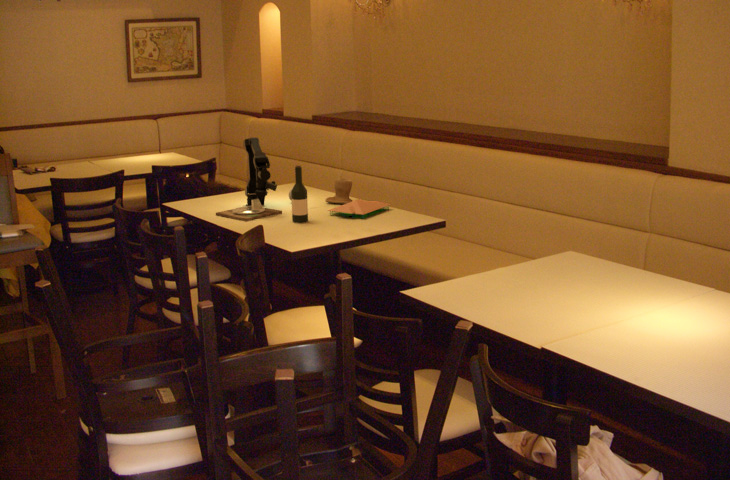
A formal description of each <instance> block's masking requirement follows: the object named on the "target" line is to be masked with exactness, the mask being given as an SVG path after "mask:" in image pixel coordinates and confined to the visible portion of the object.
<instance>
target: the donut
mask: <svg viewBox="0 0 730 480" xmlns="http://www.w3.org/2000/svg"><path fill="white" fill-rule="evenodd" d="M292 189H293V187H291V188H290V189H289V191H288V197H289V200H290V202H292V197H291V191H292Z"/></svg>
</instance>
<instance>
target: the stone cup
mask: <svg viewBox="0 0 730 480" xmlns="http://www.w3.org/2000/svg"><path fill="white" fill-rule="evenodd" d="M333 185H334V192H335V195H334V196H330V197H329V196H328V197H327V198H325V199H324V200H325V202H326V203H330V204H338V205H339V204H340V205H341V204H342V205H344V204H347V203H349V202H352V201H353V199H351V198H350V193H351V191H352V186H353V182H352V179H348V178H347V179H346V178H337V177H336V178H335V180H334V184H333Z"/></svg>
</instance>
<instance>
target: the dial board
mask: <svg viewBox="0 0 730 480" xmlns="http://www.w3.org/2000/svg"><path fill="white" fill-rule="evenodd" d="M250 206H252V205H250ZM250 206H246V205H245V207H250ZM264 208H265V212H263V213H259V214H252V215H239V214H234V213H233V212H232V210H233V209H234V208H232V209H227V210H223V211H217V212H215V216H217V217H222V218H226V219H227V218H228V219H233V220H236V221H237V220H238V221H242V222H249V221H255V220H259V219H264V218H268V217H273V216H277V215H281V214H283V211H282V210H279V209H273V208H269V207H264Z"/></svg>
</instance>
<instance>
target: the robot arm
mask: <svg viewBox="0 0 730 480" xmlns="http://www.w3.org/2000/svg"><path fill="white" fill-rule="evenodd" d="M242 143H243V144H242V145H243V147H244V152H245V153H246V155H247V166H248V168H247V169H248V170H247V171H248V179H247V181H246V186H245V187H244V188H245V189H244V195H245V196H246V197H247V198H246V204H245V207H246V206H250V205H252V202H251V200H253V199H259V201H260V203H261V205H262V206H264V207H265V201H266V196H268V193H269V192H268V191H269V190H271V191H273V192H276V191H277V187H278V184H277V183H276V181H275V180H272V181H269V180H270V178H271V172H270V171H269V170H268V169H270V166H271V163H270V159H269V157H268V156H267V155H266V153H265V152H264V151H262V148H261V146H260V145H261V144H260V140H259V138H258V137H256V136H255V137H254V136H253V137H249V138H245V139H244V140H243V142H242Z"/></svg>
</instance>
